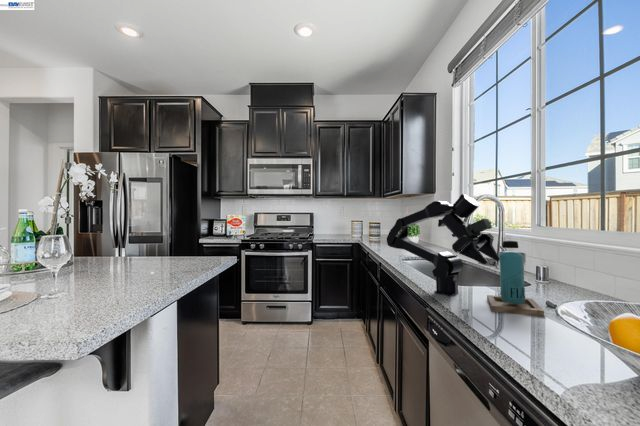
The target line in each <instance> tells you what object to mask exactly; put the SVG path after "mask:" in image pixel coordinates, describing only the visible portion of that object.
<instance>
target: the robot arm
mask: <svg viewBox="0 0 640 426" xmlns="http://www.w3.org/2000/svg"><path fill="white" fill-rule="evenodd" d="M480 206H481V205H480V203H479V202H478V201H477V200H476V199H474V198H472V197H471V196H468V195H467V194H466V193H461V195H460V196H459V197H458V199H457V200H456V201H455V202H454V203H453V204H451V203H450V202H448V201H446V200H435V201H432V202H430V203H429V204H428V205H426V206H425V207H424V208H423V209H421V210H418V211H416V212H413V213H410V214H409V215H406V216H403V217H402V218H401V217H400V218H398V219H396V221H395V224H394V225H393V226H392V228H391V229H390V230H389V231H388V235H387V237H386V245H387V246H389V248H394V249H400V250H404V251H406V252H409V253H410V254H412V255H415V256H417V257H418V258H421V259H423V260H425V261H427V262H429V263H430V264H432V265H433V266H434V269H432V271H431V272H432V275H433V277H435V283H436V285H435V289H436V290H434V293H435V294H439V295H444V296H451V297H453V296H455V295H457V294H458V293H460V292H459V281H458V280H457V276H459V274H460V272H461V270H462V269H463V267H464V264H463V261H462V259H461V258H460V257H458V254H459V255H462V256H464V257H467V258H469V259H472V260H474V261H475V262H478V263H480V264H482V265H487V263H488V261H487V259H486V258H485V257H484V256H483V254H484V255H485V256H487V257H489V258H490V259H492V260H493V261H496V262H499V260H500V258H499V254H498V253H497V251H496V250H495V247H494V246H493V243H494V236H493V235H492V234H491V233H489V232H485V233H482V232H484V231H486V230H490V229H493V226H492V221H490V219H488V218H482V219H478V220H477V221H475V222H473V223H467V222H466V221H465V220H463V219H464V218H465V219H468V218H469V217H470V216H471V215H473V213H475V211H476V210H477V209H478V208H479V207H480ZM435 218H441V219H437V220H438V223H437V227H439V228H441V227H445V226H446V229H448V230H449V231H450V232H451V233H452V234H451V236H452V237H453V238H456V240H455V242H453V243H452V244H451V248H452V251H454V253H455V254H454V253H451V252H450V251H440V252H438V251H434V250H432V249H430V248H428V247H426V246H424V245H421V244H418V243H416V242H414V241H412V240H410V237H408V236H409V228H410V226H413V225H416V224H418V223H421V222H424V221H426V220H429V219H435Z"/></svg>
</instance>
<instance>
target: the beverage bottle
mask: <svg viewBox="0 0 640 426" xmlns="http://www.w3.org/2000/svg"><path fill="white" fill-rule="evenodd" d="M502 248H504V249H519V243H518V241H516V240H504V241H502ZM501 252H502V253H501V254H500V255H499V254H498V256H499V258H500V262H499V276H500V278H499V280H500V281H499V287H500V292H499V294H500V295H499V296H500V297H501V300H502V301H505V302H509V303H517V304H520V303H524V302H525V298H526V291H525V290H526V289H525V272H524V271H525V268H523V264H524V263H523V255H522V254H520V253H519V251H509V250H507V251H505V250H504V251H501ZM523 269H524V270H523Z"/></svg>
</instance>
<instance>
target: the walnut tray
mask: <svg viewBox="0 0 640 426" xmlns="http://www.w3.org/2000/svg"><path fill="white" fill-rule="evenodd" d="M500 296H501V295H492V294H490V295H489V294H487V295H486V300H488V301H487V302H488V303H487V304H488V305H489V307H490V309H491V312H494V313H495V312H497V313H504V314H505V313H506V314H515V315H524V316H525V315H526V316H534V317H542V318H543V317H545V310H544V309H543V308H542V307H541V306H540V305H539V304H538V302H536V301H535V299H534V298H528V297H527V298H526V297H525V302H524V303H520V304H517V303H509V302H505V301H502V300H501V297H500Z"/></svg>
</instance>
